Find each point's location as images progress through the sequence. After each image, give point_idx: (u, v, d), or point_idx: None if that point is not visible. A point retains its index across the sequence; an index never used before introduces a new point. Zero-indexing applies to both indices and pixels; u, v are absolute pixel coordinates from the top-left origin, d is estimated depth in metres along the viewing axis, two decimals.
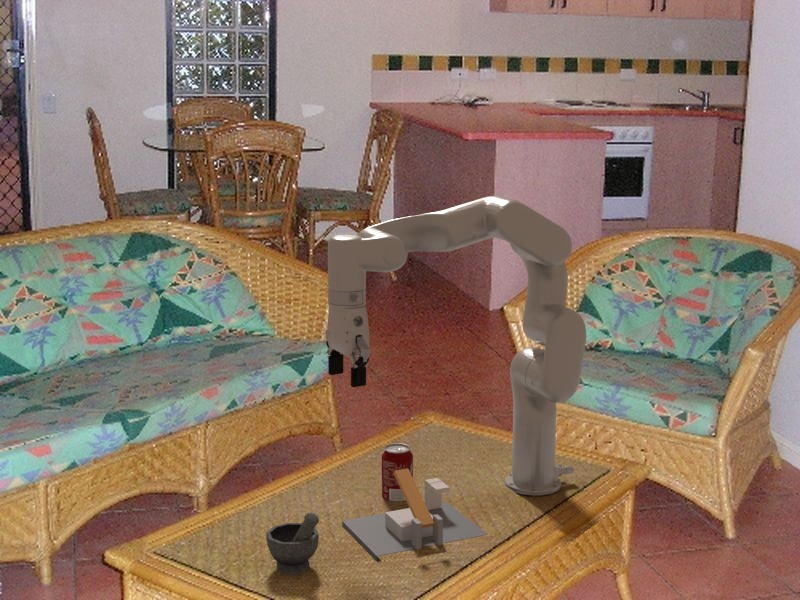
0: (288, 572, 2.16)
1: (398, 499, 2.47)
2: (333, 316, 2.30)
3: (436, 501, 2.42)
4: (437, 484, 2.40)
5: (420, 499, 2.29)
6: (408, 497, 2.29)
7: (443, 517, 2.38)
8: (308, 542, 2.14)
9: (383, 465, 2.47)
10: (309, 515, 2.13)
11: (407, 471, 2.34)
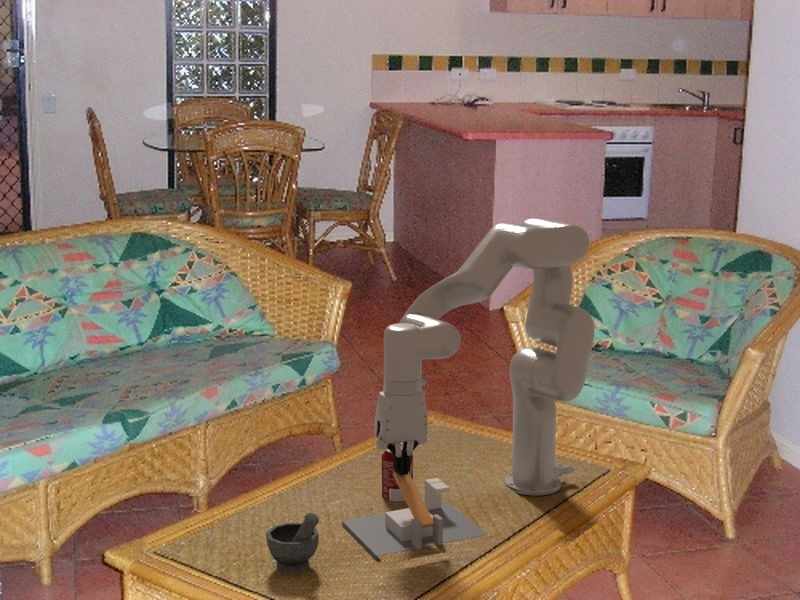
0: (288, 572, 2.16)
1: (398, 499, 2.47)
2: (402, 408, 2.28)
3: (436, 501, 2.42)
4: (437, 484, 2.40)
5: (420, 500, 2.29)
6: (408, 498, 2.29)
7: (443, 517, 2.38)
8: (308, 542, 2.14)
9: (383, 465, 2.47)
10: (309, 515, 2.13)
11: None
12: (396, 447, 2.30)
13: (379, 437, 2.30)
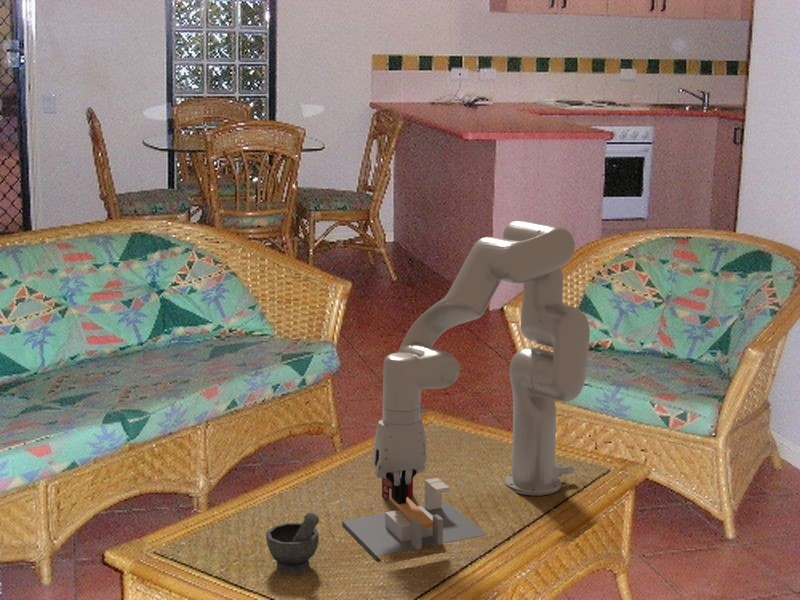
0: (288, 572, 2.16)
1: None
2: (401, 437, 2.29)
3: (436, 501, 2.42)
4: (437, 484, 2.40)
5: (418, 509, 2.31)
6: (406, 509, 2.31)
7: (443, 517, 2.38)
8: (308, 542, 2.14)
9: None
10: (309, 515, 2.13)
11: None
12: (394, 476, 2.31)
13: (378, 466, 2.30)
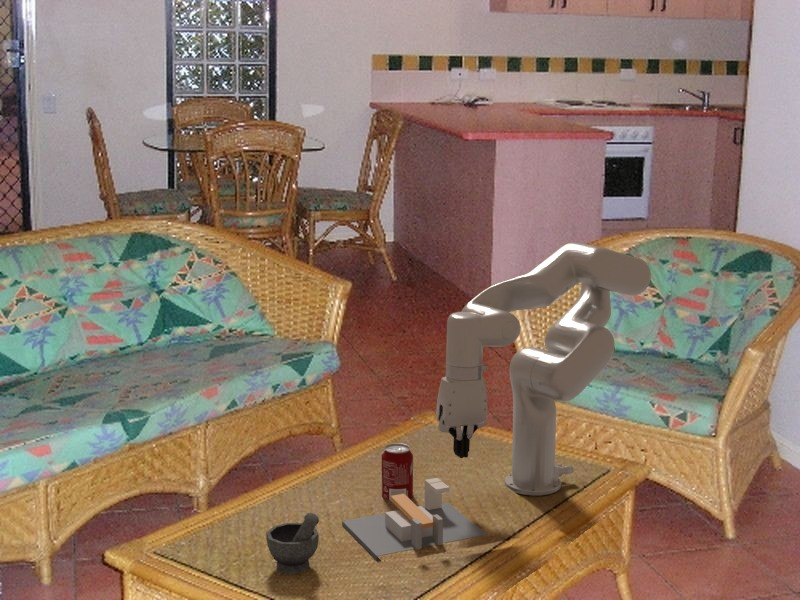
0: (288, 572, 2.16)
1: None
2: (464, 393, 2.38)
3: (436, 501, 2.42)
4: (437, 484, 2.40)
5: (418, 509, 2.31)
6: (406, 509, 2.31)
7: (443, 517, 2.38)
8: (308, 542, 2.14)
9: (383, 465, 2.47)
10: (309, 515, 2.13)
11: (403, 495, 2.37)
12: (457, 430, 2.40)
13: (441, 421, 2.40)
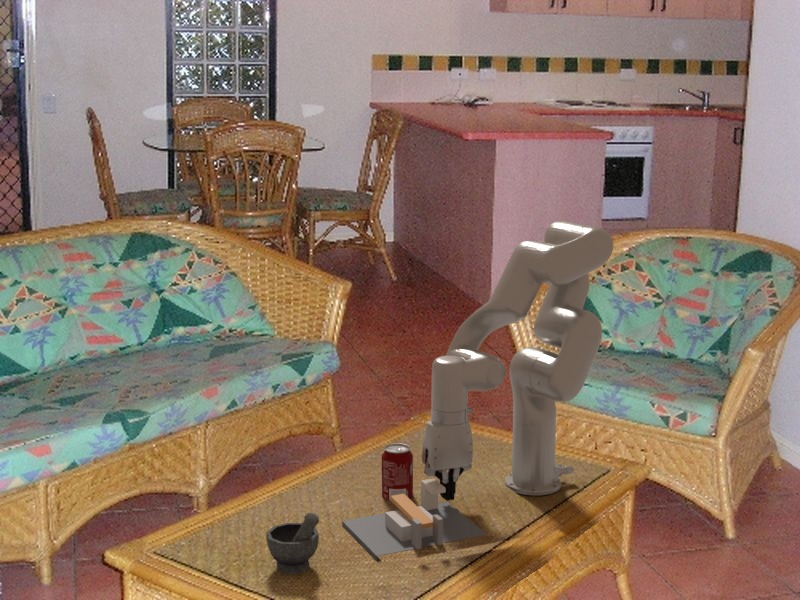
0: (288, 572, 2.16)
1: None
2: (449, 437, 2.39)
3: (432, 502, 2.42)
4: (433, 485, 2.40)
5: (418, 509, 2.31)
6: (406, 509, 2.31)
7: (443, 517, 2.38)
8: (308, 542, 2.14)
9: (383, 465, 2.47)
10: (309, 515, 2.13)
11: (403, 495, 2.37)
12: (443, 474, 2.41)
13: (427, 464, 2.40)
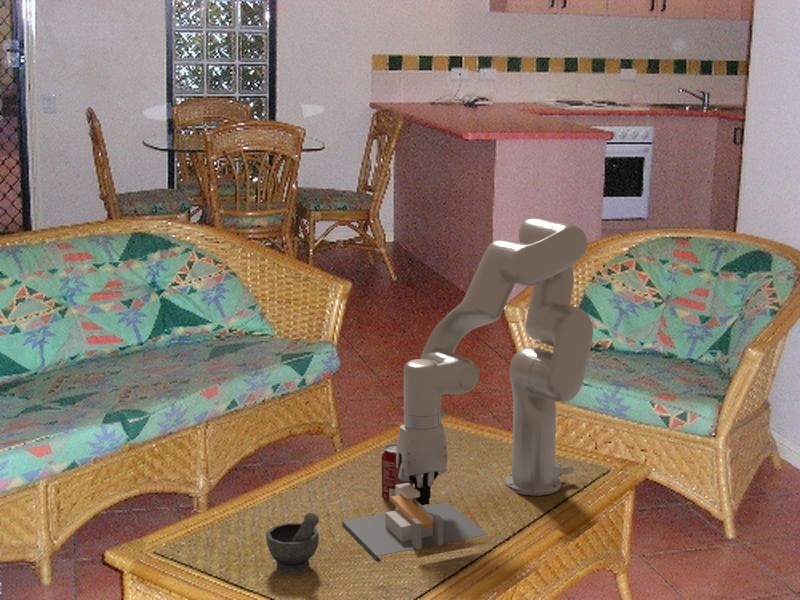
0: (288, 572, 2.16)
1: None
2: (423, 441, 2.36)
3: None
4: (408, 489, 2.37)
5: (418, 510, 2.31)
6: (406, 510, 2.31)
7: (443, 517, 2.38)
8: (308, 542, 2.14)
9: (383, 465, 2.47)
10: (309, 515, 2.13)
11: None
12: (417, 478, 2.39)
13: (401, 469, 2.38)
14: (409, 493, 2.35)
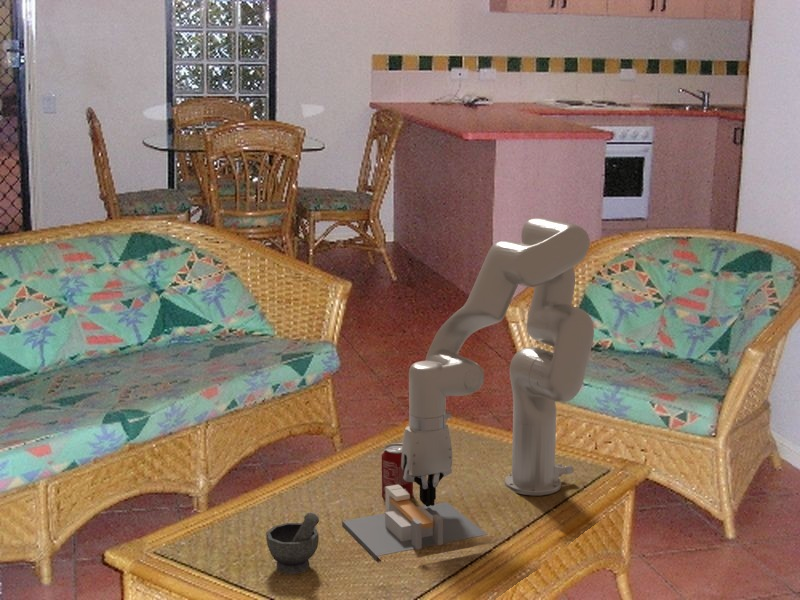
0: (288, 572, 2.16)
1: None
2: (428, 443, 2.37)
3: (396, 508, 2.39)
4: (397, 491, 2.36)
5: (418, 510, 2.31)
6: (406, 510, 2.31)
7: (443, 517, 2.38)
8: (308, 542, 2.14)
9: (383, 465, 2.47)
10: (309, 515, 2.13)
11: None
12: (422, 480, 2.39)
13: (406, 470, 2.39)
14: (399, 495, 2.35)
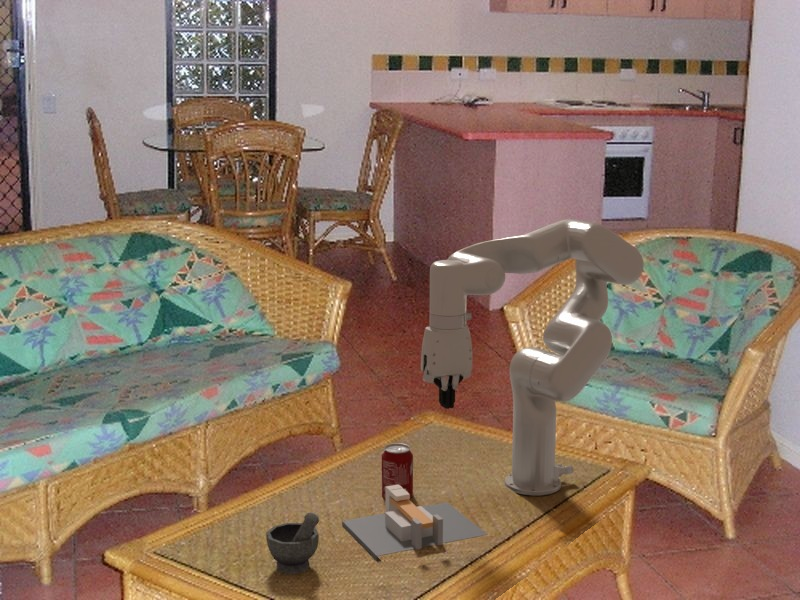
0: (288, 572, 2.16)
1: None
2: (448, 342, 2.34)
3: (396, 508, 2.39)
4: (397, 491, 2.36)
5: (418, 510, 2.31)
6: (406, 510, 2.31)
7: (443, 517, 2.38)
8: (308, 542, 2.14)
9: (383, 465, 2.47)
10: (309, 515, 2.13)
11: None
12: (442, 381, 2.36)
13: (426, 371, 2.36)
14: (399, 495, 2.35)
